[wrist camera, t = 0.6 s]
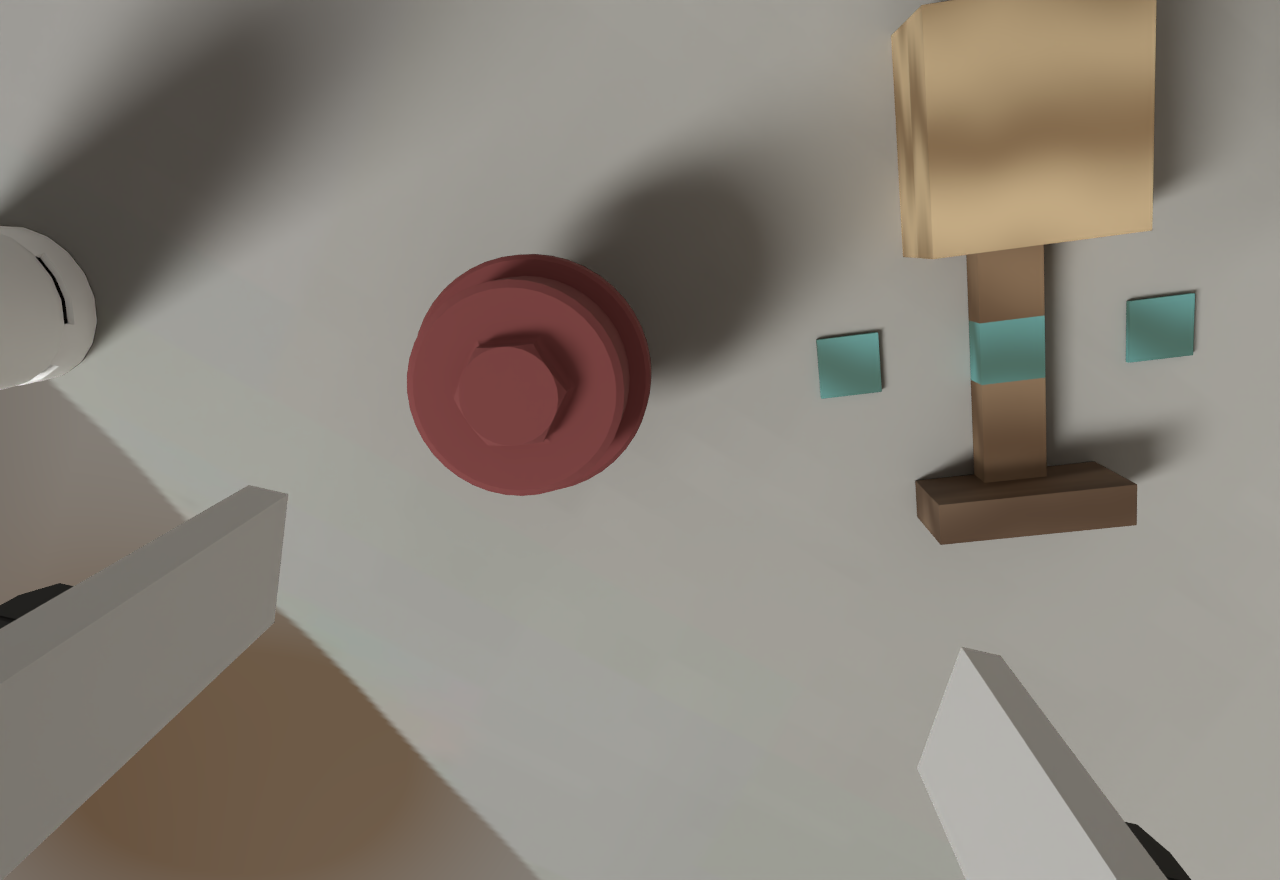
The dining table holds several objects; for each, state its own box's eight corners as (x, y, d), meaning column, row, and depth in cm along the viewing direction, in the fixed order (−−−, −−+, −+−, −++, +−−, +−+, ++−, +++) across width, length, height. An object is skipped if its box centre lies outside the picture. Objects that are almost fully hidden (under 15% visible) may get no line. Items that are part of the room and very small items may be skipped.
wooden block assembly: (791, 27, 37) (803, 2, 33) (1201, -38, 35) (1264, -72, 31) (831, 525, 42) (845, 554, 39) (1185, 488, 41) (1237, 514, 37)
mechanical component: (510, 217, 40) (690, 306, 40) (435, 394, 42) (606, 476, 43) (433, 206, 28) (692, 333, 28) (335, 455, 30) (575, 568, 31)
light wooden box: (890, 36, 37) (921, 5, 32) (1093, 4, 36) (1156, -33, 31) (902, 256, 39) (933, 258, 34) (1093, 231, 38) (1152, 230, 33)
